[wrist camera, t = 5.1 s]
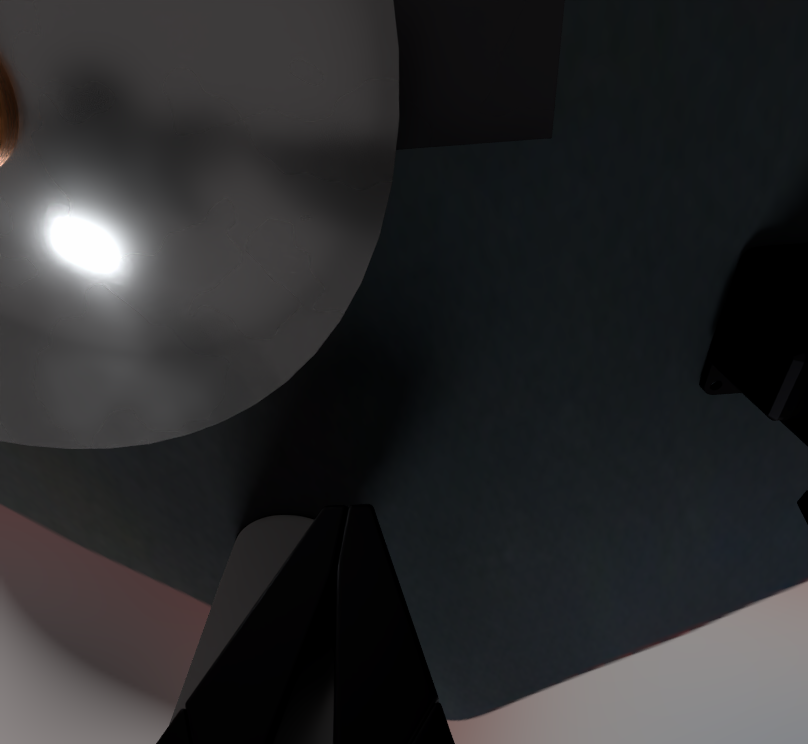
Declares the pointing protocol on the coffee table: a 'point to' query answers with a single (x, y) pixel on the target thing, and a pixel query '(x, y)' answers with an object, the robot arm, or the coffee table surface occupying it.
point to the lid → (181, 204)
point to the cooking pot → (476, 70)
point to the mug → (243, 587)
